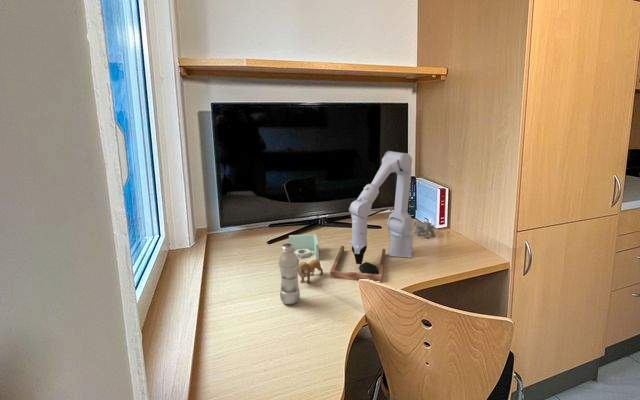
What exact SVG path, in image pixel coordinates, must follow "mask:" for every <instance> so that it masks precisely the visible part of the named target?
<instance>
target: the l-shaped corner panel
mask: <svg viewBox="0 0 640 400" xmlns="http://www.w3.org/2000/svg"><path fill="white" fill-rule="evenodd" d="M288 243H291V244H293V245H294V253H295V254H296V255H297V257H298V259H306V258H308V257H309V258H310V256H311V254H312V253H311V251H314V255H315V260H316V259H317V260H319V261H320V257H319V256H320V255H319V254H320V252H319V249H320V248H319V241H318V236H317V234H316V233H315V234H314V233H313V234H312V233H311V234H291V235H289V234H288Z"/></svg>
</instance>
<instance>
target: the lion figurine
mask: <svg viewBox="0 0 640 400" xmlns="http://www.w3.org/2000/svg"><path fill="white" fill-rule="evenodd" d="M315 269H317V270H318V271H320V272H319V275H320V276H323V275H324V272H323V268H322V266H321V262H320V259H319V260H317V259H316V258H315V259H312V260H310V262H308V263H307V262H304V261H302V262H299V266H298V277H299V276H300V278H301V280H300V283H301V284H303V283H304V282H305V278H307V279H306V284H307V285H310V284H311V277H312V276H314V274H315Z"/></svg>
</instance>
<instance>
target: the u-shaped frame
mask: <svg viewBox="0 0 640 400" xmlns="http://www.w3.org/2000/svg"><path fill="white" fill-rule="evenodd" d="M344 253H345V246H344V245H341V246H340V248H339V251H338V252H337V256H336V257H335V259H334V262H333V265H332V266H331V269H330V271H329V278H330V279H339V280H352V281H359V279H369V280H373V281H380V282H379V283H381V282H382V280H383V275H384V266H385V261H386V260H385V258H386V248H382V251H381V256H380V264H379V269H378V271H379V274H367V273H361V272H356V271H355V272H353V271H344V270H338V267H339V265H340V262H341V261H342V258H343V256H344Z"/></svg>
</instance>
